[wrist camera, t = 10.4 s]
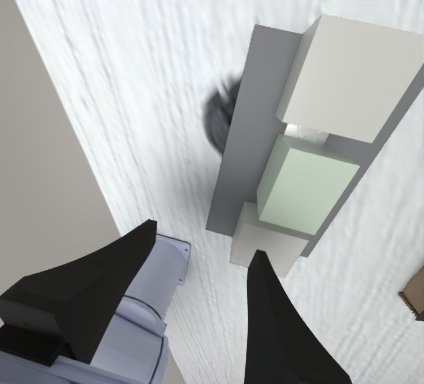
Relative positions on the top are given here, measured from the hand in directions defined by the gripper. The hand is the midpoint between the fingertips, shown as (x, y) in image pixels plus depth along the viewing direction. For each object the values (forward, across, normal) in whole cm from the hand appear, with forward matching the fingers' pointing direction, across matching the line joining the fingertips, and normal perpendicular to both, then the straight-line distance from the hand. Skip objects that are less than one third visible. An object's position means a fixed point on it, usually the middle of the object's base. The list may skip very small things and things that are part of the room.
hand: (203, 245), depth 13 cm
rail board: (+9, -6, -4) cm, 12 cm away
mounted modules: (+9, -6, -4) cm, 12 cm away
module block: (+8, -6, -4) cm, 11 cm away
